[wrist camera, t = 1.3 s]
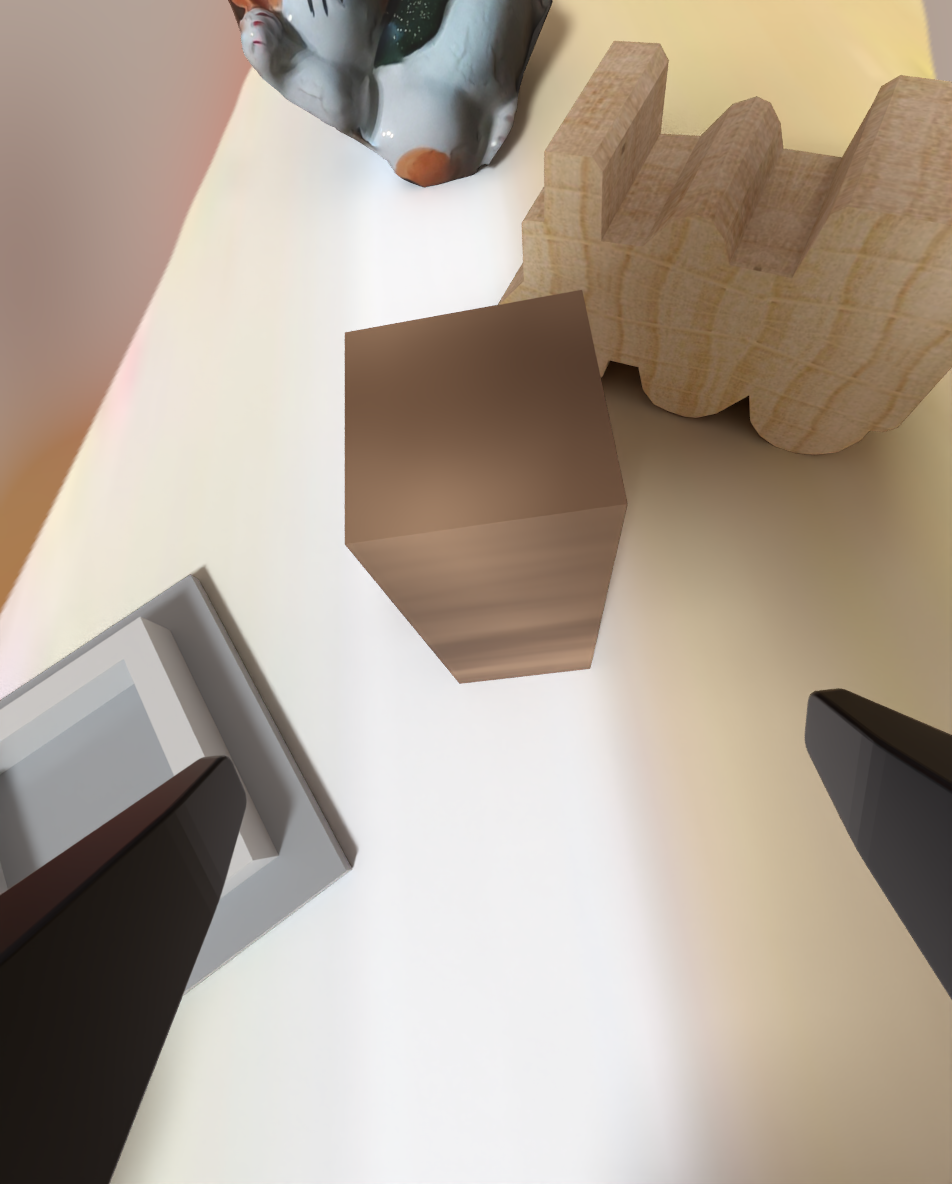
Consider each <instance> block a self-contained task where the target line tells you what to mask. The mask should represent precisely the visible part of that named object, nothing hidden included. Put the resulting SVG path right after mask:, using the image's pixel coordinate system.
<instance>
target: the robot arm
mask: <svg viewBox="0 0 952 1184" xmlns="http://www.w3.org/2000/svg"><path fill="white" fill-rule="evenodd" d="M805 744H806V748H807V751H808V753H809V755H810V757H811V760H812V762H813V764H814V766H815V768H816V770H817V772H818V774H819V776H820V778H821V780H822V782H823V784H824V786H825V788H826V790H827V792H828V794H829V796H830V798H831V800H832V802H833V804H834V806H835V808H836V810H837V812H838V814H839V816H840V818H841V820H842V822H843V824H844V826H845V828H846V830H847V832H848V834H849V836H850V838H851V840H852V841H853V843H854V845H855V847H856V849H857V851H858V852H859V854H860V856H861V857H862V859H863V861H864V862H865V864H866V866H867V867H868V869H869V870H870V872H871V873H872V875H873V877H874V878H875V880H876V881H877V883H878V884H879V886H880V888H881V889H882V891H883V892H884V894H885V895H886V897H887V899H888V900H889V902H890V903H891V905H892V906H893V908H894V910H895V911H896V913H897V914H898V916H899V917H900V919H901V921H902V922H903V924H904V925H905V927H906V929H907V930H908V932H909V933H910V935H911V936H912V938H913V940H914V941H915V943H916V944H917V946H918V947H919V949H920V951H921V952H922V954H923V955H924V957H925V958H926V960H927V962H928V963H929V965H930V966H931V968H932V969H933V971H934V973H935V974H936V976H937V977H938V979H939V980H940V982H941V984H942V985H943V987H944V988H945V990H946V991H947V993H948V995H949V996H950V998H951V999H952V735H950V734H948V733H946V732H943V731H941V730H939V729H936V728H934V727H932V726H929V725H927V724H925V723H922V722H920V721H918V720H915V719H913V718H911V717H908V716H906V715H903V714H901V713H899V712H896V711H894V710H892V709H889V708H887V707H885V706H882V705H880V704H878V703H875V702H873V701H871V700H868V699H866V698H864V697H861V696H859V695H857V694H854V693H852V692H850V691H847V690H845V689H839V688H838V689H828V690H819V691H814V692H813V693H811V694H810V696H809V699H808V706H807V716H806V727H805ZM246 804H247V797H246V792H245V790H244V787H243V785H242V782H241V780H240V778H239V775H238V773H237V771H236V768H235V766H234V764H233V762H232V760H231V759H230V758H229V757H228V756H226V755H217V756H207V757H202V758H200V759H198V760H197V761H195V762H194V763H192V764H191V765H189V766H188V767H186V768H185V769H184V770H182V771H181V772H179V773H178V774H176V775H175V776H173V777H172V778H170V779H169V780H167V781H166V782H164V783H163V784H162V785H160V786H159V787H157V788H156V789H154V790H153V791H151V792H150V793H148V794H147V795H145V796H144V797H143V798H141V799H140V800H138V801H137V802H135V803H134V804H132V805H131V806H129V807H128V808H126V809H125V810H124V811H122V812H121V813H119V814H118V815H116V816H115V817H113V818H112V819H110V820H109V821H107V822H106V823H105V824H103V825H102V826H100V827H99V828H97V829H96V830H94V831H93V832H91V833H90V834H88V835H87V836H86V837H84V838H83V839H81V840H80V841H78V842H77V843H75V844H74V845H72V846H71V847H69V848H68V849H67V850H65V851H64V852H62V853H61V854H59V855H58V856H56V857H55V858H53V859H52V860H50V861H49V862H48V863H46V864H45V865H43V866H42V867H40V868H39V869H37V870H36V871H34V872H33V873H31V874H30V875H29V876H27V877H26V878H24V879H23V880H21V881H20V882H18V883H17V884H15V885H14V886H12V887H11V888H10V889H8V890H7V891H5V892H4V893H2V894H1V895H0V1184H110V1181H111V1178H112V1176H113V1173H114V1171H115V1168H116V1166H117V1163H118V1161H119V1158H120V1155H121V1153H122V1150H123V1148H124V1145H125V1143H126V1140H127V1137H128V1135H129V1132H130V1130H131V1127H132V1125H133V1122H134V1119H135V1117H136V1114H137V1112H138V1109H139V1107H140V1104H141V1102H142V1099H143V1096H144V1094H145V1091H146V1089H147V1086H148V1084H149V1081H150V1078H151V1076H152V1073H153V1071H154V1068H155V1066H156V1063H157V1061H158V1058H159V1055H160V1053H161V1050H162V1048H163V1045H164V1043H165V1040H166V1037H167V1035H168V1032H169V1030H170V1027H171V1025H172V1022H173V1019H174V1017H175V1014H176V1012H177V1009H178V1007H179V1004H180V1002H181V999H182V996H183V994H184V991H185V989H186V986H187V984H188V981H189V978H190V976H191V973H192V971H193V968H194V966H195V963H196V961H197V958H198V955H199V953H200V950H201V948H202V945H203V943H204V940H205V937H206V935H207V932H208V930H209V927H210V925H211V922H212V919H213V917H214V914H215V911H216V909H217V906H218V903H219V900H220V897H221V894H222V891H223V888H224V885H225V881H226V877H227V874H228V870H229V867H230V863H231V860H232V856H233V853H234V849H235V846H236V842H237V839H238V835H239V831H240V828H241V824H242V821H243V817H244V814H245V810H246Z"/></svg>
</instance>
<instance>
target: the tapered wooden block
mask: <svg viewBox="0 0 952 1184" xmlns="http://www.w3.org/2000/svg"><path fill="white" fill-rule="evenodd" d="M626 508H627V499H626V495H625V490H624V485H623V480H622V476H621V471H620V466H619V462H618V457H617V452H616V447H615V443H614V438H613V433H612V428H611V424H610V419H609V414H608V410H607V405H606V400H605V395H604V391H603V386H602V381H601V376H600V372H599V367H598V362H597V357H596V353H595V348H594V343H593V339H592V334H591V329H590V324H589V320H588V315H587V310H586V305H585V301H584V296H583V291H582V290H578V291H572V292H567V293H561V294H556V295H550V296H545V297H539V298H534V299H528V300H523V301H517V302H511V303H506V304H500V305H495V306H489V307H484V308H478V309H473V310H467V311H462V312H456V313H451V314H445V315H440V316H434V317H429V318H423V319H417V320H412V321H406V322H401V323H395V324H390V325H384V326H379V327H373V328H368V329H362V330H357V331H351V332H346V333H345V545H346V546H347V547H348V549H349V550H350V551H351V552H352V553H353V555H354V556H355V557H356V558H357V560H358V561H359V562H360V563H361V564H362V566H363V567H364V568H365V569H366V570H367V572H368V573H369V574H370V575H371V577H372V578H373V579H374V580H375V581H376V583H377V584H378V585H379V586H380V587H381V589H382V590H383V591H384V592H385V594H386V595H387V596H388V597H389V598H390V600H391V601H392V602H393V603H394V604H395V606H396V607H397V608H398V609H399V611H400V612H401V613H402V614H403V615H404V617H405V618H406V619H407V620H408V621H409V623H410V624H411V625H412V626H413V628H414V629H415V630H416V631H417V632H418V634H419V635H420V636H421V637H422V638H423V640H424V641H425V642H426V643H427V645H428V646H429V647H430V648H431V649H432V651H433V652H434V653H435V654H436V656H437V657H438V658H439V659H440V660H441V662H442V663H443V664H444V665H445V666H446V668H447V669H448V670H449V671H450V673H451V674H452V675H453V676H454V677H455V679H456V680H457V681H458V682H459V683H460V684H461V683H470V682H478V681H487V680H496V679H504V678H513V677H522V676H530V675H539V674H548V673H557V672H565V671H574V670H583V669H590V667H591V663H592V658H593V654H594V649H595V645H596V641H597V636H598V632H599V627H600V623H601V618H602V614H603V610H604V605H605V601H606V596H607V592H608V588H609V583H610V579H611V574H612V570H613V565H614V561H615V557H616V552H617V548H618V543H619V539H620V535H621V530H622V526H623V521H624V517H625V512H626Z"/></svg>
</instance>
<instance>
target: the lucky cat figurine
mask: <svg viewBox="0 0 952 1184" xmlns="http://www.w3.org/2000/svg"><path fill="white" fill-rule="evenodd" d="M228 1H229V3H230V5H231V7H232V10H233V12H234V15H235V18H236V20H237V23H238V26H239V29H240V31H241V41H242V46H243V48H242V49H243V52H244V55H245V56H246V58H247V59H248V61H249V62H250V64H251V65H252V66H253V68H254V69H255V70H256V71H257V72H258V73H259V75H260V76H261V77H262V78H263V79H264V80H265V81H266V82H268V83H269V84H270V85H271V86H272V87H274V88H275V89H276V90H277V91H279V92H280V93H281V94H282V95H283V96H284V97H285V98H286V99H287V100H289V101H290V102H292V103H294V104H295V105H297V106H299V107H301V108H302V109H304V110H306V111H307V112H309V113H311V114H312V115H314V116H316V117H317V118H319V119H320V120H321V121H323V122H324V123H326V124H328V125H330V126H333V127H335V128H336V129H337V130H339V131H340V132H342V133H344V134H346V135H348V136H350V137H352V138H354V139H355V140H357V141H358V142H360V143H362V144H363V145H365V146H366V147H368V148H369V149H371V150H373V151H374V152H376V153H377V154H378V155H380V156H381V157H382V158H383V159H385V160H387V161H388V163H389V164H390V166H391V167H392V169H393V170H394V172H395V173H396V174H397V175H398V176H399V177H401V178H402V179H404V180H406V181H409V182H411V183H414V184H416V185H419V186H422V187H427V186H431V185H437V184H441V183H445V182H448V181H451V180H455V179H460V178H464V177H468V176H471V175H473V174H474V173H475V172H476V171H477V169H478V168H479V167H480V166H481V165H482V164H487V165H488V164H489V163H490V162H491V160H492V159H493V157H494V156H495V154H496V153H497V151H498V150H499V148H500V147H501V145H502V144H503V142H504V141H505V139H506V137H507V136H508V134H509V132H510V130H511V128H512V126H513V122H514V115H515V111H516V110H517V102H518V93H519V88H520V85H521V81H522V78H523V74H524V71H525V68H526V66H527V63H528V61H529V58H530V56H531V53H532V51H533V49H534V46H535V44H536V41H537V39H538V36H539V34H540V31H541V29H542V26H543V24H544V22H545V19H546V17H547V14H548V12H549V9H550V7H551V4H552V2H553V1H552V0H228Z"/></svg>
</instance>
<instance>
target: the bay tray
mask: <svg viewBox="0 0 952 1184" xmlns="http://www.w3.org/2000/svg"><path fill="white" fill-rule="evenodd" d="M217 755H226V756H228V757H229V758H230V759H231V760H232V762H233V764H234V766H235V768H236V771H237V773H238V775H239V778H240V780H241V782H242V785H243V787H244V790H245V792H246V797H247V804H246V810H245V814H244V817H243V821H242V824H241V828H240V831H239V835H238V839H237V842H236V846H235V849H234V853H233V856H232V860H231V863H230V867H229V870H228V874H227V877H226V881H225V885H224V888H223V891H222V894H221V897H220V900H219V903H218V906H217V909H216V911H215V914H214V917H213V919H212V922H211V925H210V927H209V930H208V932H207V935H206V937H205V940H204V943H203V945H202V948H201V950H200V953H199V955H198V958H197V961H196V963H195V966H194V968H193V971H192V973H191V976H190V978H189V981H188V984H187V986H186V989H185V991H184V994H183V995H185V994H186V993H187V992H189V991H190V990H191V989H193V988H194V987H195V986H197V985H198V984H199V983H201V982H202V981H203V980H205V979H206V978H207V977H209V976H210V975H211V974H213V973H214V972H215V971H217V970H218V969H219V968H221V967H222V966H224V965H225V964H226V963H228V962H229V961H230V960H232V959H233V958H234V957H236V956H237V955H238V954H240V953H241V952H242V951H244V950H245V949H246V948H248V947H249V946H250V945H252V944H253V943H254V942H256V941H257V940H258V939H260V938H261V937H262V936H264V935H265V934H266V933H268V932H269V931H270V930H272V929H273V928H274V927H276V926H277V925H278V924H280V923H281V922H282V921H284V920H285V919H286V918H288V917H289V916H290V915H292V914H293V913H294V912H296V911H297V910H298V909H300V908H301V907H302V906H304V905H305V904H306V903H308V902H309V901H310V900H312V899H313V898H314V897H316V896H317V895H318V894H320V893H321V892H322V891H324V890H325V889H326V888H328V887H329V886H330V885H332V884H333V883H334V882H336V881H337V880H338V879H340V878H341V877H342V876H344V875H345V874H346V873H348V872H349V871H350V870H352V868H351V866H350V864H349V862H348V860H347V858H346V856H345V854H344V853H343V851H342V849H341V847H340V845H339V843H338V841H337V839H336V837H335V836H334V834H333V832H332V830H331V828H330V826H329V824H328V822H327V820H326V819H325V817H324V815H323V813H322V811H321V809H320V807H319V805H318V803H317V802H316V800H315V798H314V796H313V794H312V792H311V790H310V788H309V786H308V785H307V783H306V781H305V779H304V777H303V775H302V773H301V771H300V770H299V768H298V766H297V764H296V762H295V760H294V758H293V756H292V754H291V753H290V751H289V749H288V747H287V745H286V743H285V741H284V739H283V737H282V736H281V734H280V732H279V730H278V728H277V726H276V724H275V722H274V720H273V719H272V717H271V715H270V713H269V711H268V709H267V707H266V705H265V703H264V702H263V700H262V698H261V696H260V694H259V692H258V690H257V688H256V686H255V685H254V683H253V681H252V679H251V677H250V675H249V673H248V671H247V670H246V668H245V666H244V664H243V662H242V660H241V658H240V656H239V654H238V653H237V651H236V649H235V647H234V645H233V643H232V641H231V639H230V637H229V636H228V634H227V632H226V630H225V628H224V626H223V624H222V622H221V620H220V619H219V617H218V615H217V613H216V611H215V609H214V607H213V605H212V603H211V602H210V600H209V598H208V596H207V594H206V592H205V590H204V588H203V587H202V585H201V583H200V581H199V579H197V578H196V577H194V576H193V575H191V574H190V575H188V576H187V577H185V578H184V579H182V580H181V581H179V582H178V583H176V584H175V585H173V586H172V587H170V588H169V589H167V590H166V591H164V592H163V593H161V594H160V595H158V596H157V597H155V598H154V599H152V600H151V601H149V602H148V603H146V604H145V605H143V606H142V607H140V608H139V609H137V610H136V611H134V612H133V613H131V614H130V615H128V616H127V617H125V618H124V619H122V620H121V621H119V622H118V623H116V624H115V625H113V626H112V627H110V628H109V629H107V630H106V631H104V632H103V633H101V634H100V635H98V636H97V637H95V638H94V639H92V640H91V641H89V642H88V643H86V644H85V645H83V646H81V647H80V648H78V649H77V650H75V651H74V652H72V653H71V654H69V655H68V656H66V657H65V658H63V659H62V660H60V661H59V662H57V663H56V664H54V665H53V666H51V667H50V668H48V669H47V670H45V671H44V672H42V673H41V674H39V675H38V676H36V677H35V678H33V679H32V680H30V681H29V682H27V683H26V684H24V685H23V686H21V687H20V688H18V689H17V690H15V691H14V692H12V693H11V694H9V695H8V696H6V697H5V698H3V699H2V700H0V895H1V894H2V893H4V892H5V891H7V890H8V889H10V888H11V887H12V886H14V885H15V884H17V883H18V882H20V881H21V880H23V879H24V878H26V877H27V876H29V875H30V874H31V873H33V872H34V871H36V870H37V869H39V868H40V867H42V866H43V865H45V864H46V863H48V862H49V861H50V860H52V859H53V858H55V857H56V856H58V855H59V854H61V853H62V852H64V851H65V850H67V849H68V848H69V847H71V846H72V845H74V844H75V843H77V842H78V841H80V840H81V839H83V838H84V837H86V836H87V835H88V834H90V833H91V832H93V831H94V830H96V829H97V828H99V827H100V826H102V825H103V824H105V823H106V822H107V821H109V820H110V819H112V818H113V817H115V816H116V815H118V814H119V813H121V812H122V811H124V810H125V809H126V808H128V807H129V806H131V805H132V804H134V803H135V802H137V801H138V800H140V799H141V798H143V797H144V796H145V795H147V794H148V793H150V792H151V791H153V790H154V789H156V788H157V787H159V786H160V785H162V784H163V783H164V782H166V781H167V780H169V779H170V778H172V777H173V776H175V775H176V774H178V773H179V772H181V771H182V770H184V769H185V768H186V767H188V766H189V765H191V764H192V763H194V762H195V761H197V760H198V759H200V758H202V757H207V756H217Z"/></svg>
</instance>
